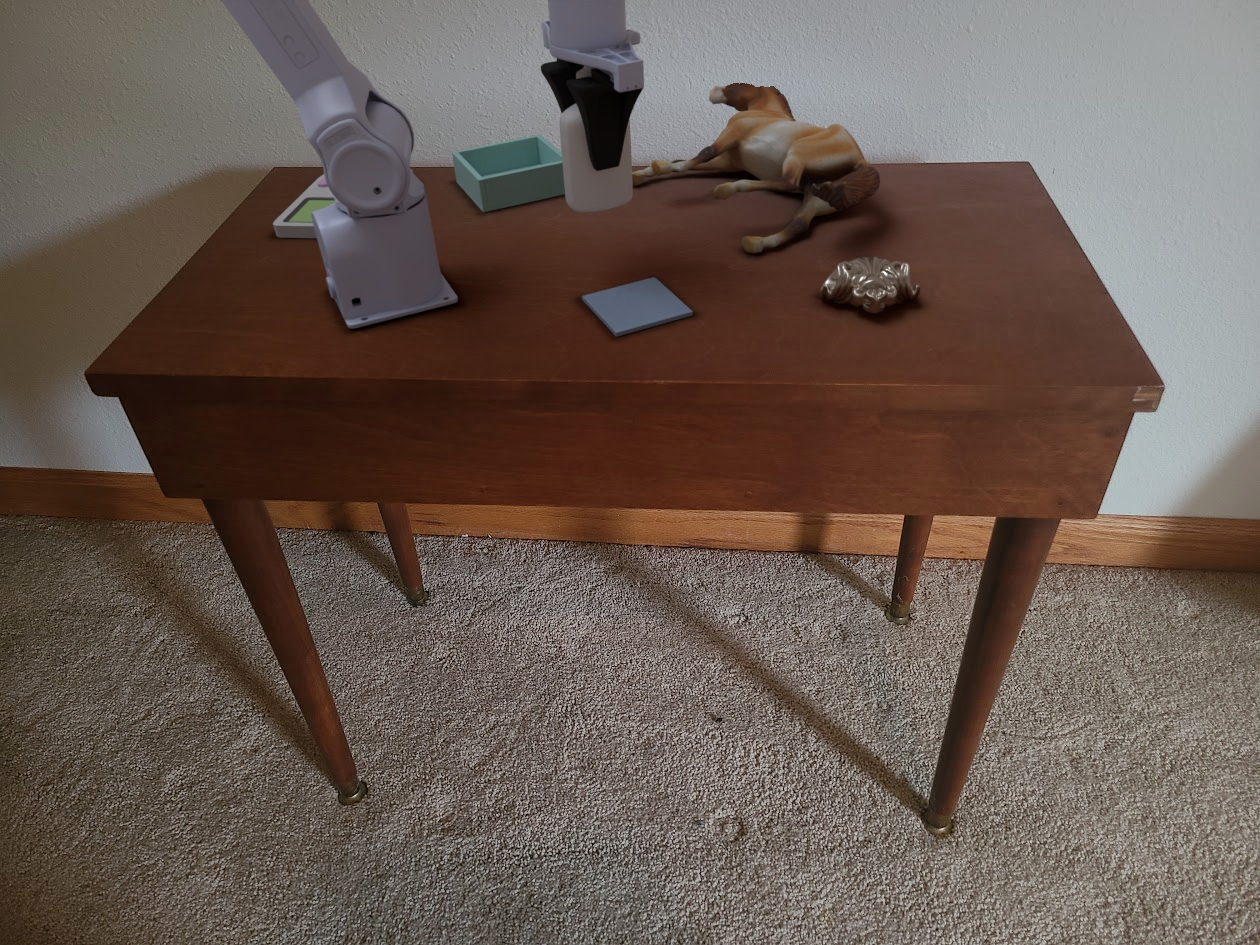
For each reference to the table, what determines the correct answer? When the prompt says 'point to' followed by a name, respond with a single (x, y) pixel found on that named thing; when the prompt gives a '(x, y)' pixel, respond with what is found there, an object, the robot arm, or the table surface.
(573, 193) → the eye dropper bottle
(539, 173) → the box
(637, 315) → the pad
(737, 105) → the horse figurine
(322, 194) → the handheld gaming console
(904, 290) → the ornament
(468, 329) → the table surface
